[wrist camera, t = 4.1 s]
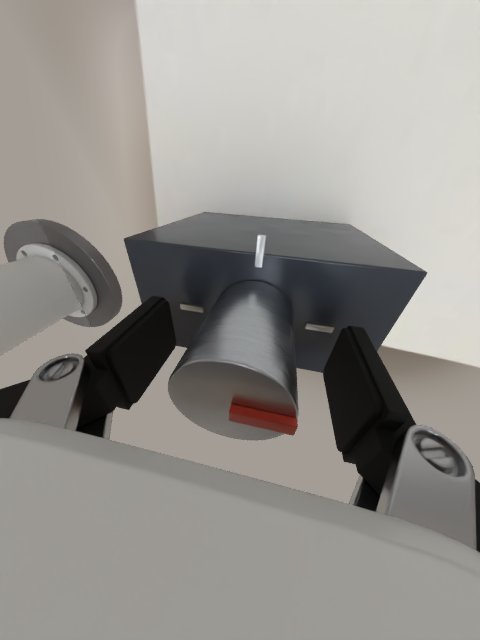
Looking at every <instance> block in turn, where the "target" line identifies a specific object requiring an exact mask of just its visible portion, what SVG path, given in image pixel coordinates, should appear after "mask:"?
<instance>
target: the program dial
mask: <svg viewBox="0 0 480 640" xmlns="http://www.w3.org/2000/svg"><path fill="white" fill-rule="evenodd" d="M296 374H297V372H296V353H295V333H294V314H293V309H292V306H291V304H290V302H289V300H288V299H287V297H286V296H285V295H284V294H283V293H282V292H281V291H279V290H278V289H277V288H275V287H273V286H271V285H269V284H267V283H264V282H259V281H243V282H238V283H235V284H233V285H231V286H229V287H228V288H226V289H225V290H224V291H223V292H222V293H221V294H220V296H219V297H218V299H217V301H216V302H215V304H214V306H213V307H212V309H211V310H210V312H209V314H208V315H207V317H206V319H205V320H204V322H203V324H202V325H201V327H200V328H199V330H198V332H197V333H196V335H195V337H194V338H193V340H192V342H191V343H190V345H189V346H188V348H187V350H186V351H185V353H184V355H183V356H182V358H181V360H180V361H179V363H178V364H177V366H176V368H175V370H174V371H173V373H172V374H171V376H170V379H169V382H168V392H169V395H170V398H171V400H172V402H173V404H174V405H175V406H176V407H177V409H178V410H179V411H180V412H181V413H182V414H183V415H185V417H187V418H188V419H189V420H191V421H192V422H194V423H195V424H197V425H199V426H200V427H202V428H204V429H207V430H209V431H211V432H214V433H216V434H219V435H222V436H226V437H230V438H235V439H241V440H266V439H271V438H275V437H278V436H281V435H283V434H289V435H294V434H295V431H296V429H297V427H298V426H297V417H298V394H297V393H298V392H297V375H296Z"/></svg>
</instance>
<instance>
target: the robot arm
mask: <svg viewBox="0 0 480 640" xmlns="http://www.w3.org/2000/svg"><path fill="white" fill-rule="evenodd" d="M96 306H97V294H96V291H95V288H94V286H93V284H92V282H91V280H90V279H89V277H88V276H87V274H86V273H85V272H84V271H83V269H82V268H81V267H80V266H79V265H78V264H77V263H76V262H75V261H74V260H72V259H71V258H70V257H69V256H67V255H66V254H65V253H63V252H61V251H59V250H58V249H56V248H54V247H51V246H49V245H46V244H41V243H33V244H28V245H25V246H23V247H21V248H20V249H19V250H18V252H17V256H16V261H13V262H10V263H7V264H3V265H0V356H1V355H3V354H4V353H6V352H8V351H9V350H11V349H13V348H14V347H16V346H18V345H19V344H21V343H23V342H24V341H26V340H28V339H29V338H31V337H33V336H34V335H36V334H37V333H39V332H41V331H43V330H44V329H46V328H48V327H49V326H51V325H53V324H55V323H56V322H58V321H60V320H61V319H63V318H65V317H66V316H68V315H69V316H73V317H84V316H87V315H89V314H90V313H92V312H93V311H94V310H95V309H96ZM175 346H176V337H175V331H174V326H173V321H172V315H171V310H170V305H169V302H168V301H166V299H165V298H164V297H158V296H151V297H150V298H149V299H148V300H146V301H145V302H144V303H143V304H141V306H139V307H138V308H137V309H135V310H134V311H133V312H132V313H131V314H129V315H128V316H127V317H126V318H124V319H123V320H122V321H121V322H120V323H118V324H117V325H116V326H115V327H113V328H112V329H111V330H110V331H109V332H107V333H106V334H105V335H104V336H102V337H101V338H100V339H99V340H98V341H96V342H95V343H94V344H93V345H91V346H90V347H89V348H88V349H87V350H86V353H87V356H86V357H84V358H83V357H82V356H81V355H79V354H65V355H62V356H58V357H56V358H53V359H51V360H49V361H48V362H46V363H44V364H43V365H42V366H40V367H39V368H38V369H37V371H36V372H35V373H34V374H33V376H32V378H31V380H28V381H25V382H21V383H19V384H15V385H12V386H9V387H6V388H3V389H0V640H480V483H479V482H478V481H477V480H475V474H474V470H473V466H472V464H471V463H470V461H469V459H468V457H467V456H466V455H465V453H464V452H463V451H462V450H461V449H460V447H459V446H457V445H456V444H455V443H454V442H453V441H452V440H451V439H449V438H448V437H447V436H445V435H444V434H442V433H441V432H439V431H437V430H435V429H433V428H431V427H427V426H423V425H416V423H415V421H414V420H413V418H412V416H411V414H410V412H409V410H408V408H407V407H406V405H405V403H404V401H403V399H402V397H401V395H400V394H399V392H398V390H397V388H396V386H395V384H394V382H393V381H392V379H391V377H390V375H389V373H388V372H387V369H386V368H385V366H384V364H383V362H382V360H381V358H380V357H379V355H378V353H377V351H376V349H375V347H374V345H373V344H372V342H371V340H370V338H369V336H368V334H367V332H366V331H365V329H364V328H362V327H356V326H347V328H343V329H342V330H341V332H340V334H339V336H338V339H337V341H336V343H335V345H334V347H333V350H332V352H331V354H330V356H329V358H328V361H327V363H326V365H325V367H324V370H323V376H324V382H325V387H326V392H327V398H328V402H329V408H330V413H331V419H332V424H333V430H334V435H335V440H336V445H337V449H338V450H339V451H340V452H342V455H343V460H344V462H349V463H352V464H356V467H357V471H358V473H359V474H360V476H359V478H358V481H357V483H356V486H355V489H354V491H353V494H352V496H351V499H350V502H349V504H346V503H343V502H339V501H336V500H333V499H329V498H325V497H322V496H318V495H314V494H311V493H307V492H303V491H300V490H296V489H292V488H288V487H284V486H281V485H277V484H274V483H270V482H266V481H263V480H259V479H255V478H251V477H248V476H244V475H240V474H236V473H233V472H229V471H225V470H222V469H218V468H214V467H210V466H207V465H203V464H199V463H195V462H192V461H188V460H184V459H180V458H177V457H173V456H169V455H165V454H161V453H158V452H154V451H150V450H146V449H142V448H139V447H135V446H131V445H127V444H123V443H119V442H116V441H112V440H109V439H110V431H111V423H112V415H113V410H114V409H115V408H116V407H119V408H123V409H127V410H129V409H130V407H131V406H132V404H133V403H136V402H138V400H139V399H140V398H141V396H142V395H143V393H144V392H145V390H146V389H147V387H148V386H149V385H150V383H151V382H152V380H153V379H154V377H155V376H156V374H157V373H158V371H159V370H160V368H161V367H162V366H163V364H164V363H165V361H166V360H167V358H168V357H169V355H170V354H171V353H172V351H173V350H174V348H175Z"/></svg>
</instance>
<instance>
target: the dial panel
mask: <svg viewBox="0 0 480 640" xmlns="http://www.w3.org/2000/svg"><path fill="white" fill-rule="evenodd" d="M124 242H125V245H126V249H127V253H128V256H129V260H130V263H131V267H132V270H133V274H134V277H135V281H136V284H137V288H138V291H139V295H140V299H141V302H142V304H143V303H144V302H145V301H146V300H148V299H149V298H150V297H151V296H158V297H164V298H165V299H166V301H168V302H169V305H170V310H171V315H172V321H173V326H174V331H175V337H176V346H181V347H186V348H188V346H189V345H190V343H191V342H192V340H193V338H194V337H195V335H196V333H197V332H198V330H199V328H200V327H201V325H202V324H203V322H204V320H205V319H206V317H207V315H208V314H209V312H210V310H211V309H212V307H213V306H214V304H215V302H216V301H217V299H218V297H219V296H220V294H221V293H222V292H223V291H224V290H225V289H226V288H228V287H229V286H231V285H233V284H235V283H238V282H243V281H259V282H264V283H267V284H269V285H271V286H273V287H275V288H277V289H278V290H279V291H281V292H282V293H283V294H284V295H285V296H286V297H287V299H288V300H289V302H290V304H291V306H292V309H293V314H294V333H295V353H296V368H300V369H306V370H311V371H316V372H322V373H323V370H324V367H325V365H326V363H327V361H328V358H329V356H330V354H331V352H332V350H333V347H334V345H335V343H336V341H337V339H338V336H339V334H340V332H341V330H342V329H343V328H347V326H356V327H362V328H364V329H365V331H366V332H367V334H368V336H369V338H370V340H371V342H372V344H373V345H374V347H375V349H376V351H377V350H378V349H379V347H380V346H381V344H382V343H383V341H384V340H385V338H386V336H387V335H388V333H389V332H390V330H391V329H392V327H393V326H394V324H395V322H396V321H397V319H398V318H399V316H400V315H401V313H402V312H403V310H404V308H405V307H406V305H407V304H408V302H409V301H410V299H411V298H412V296H413V295H414V293H415V291H416V290H417V288H418V287H419V285H420V284H421V282H422V281H423V279H424V277H425V276H426V274H427V272H426V271H424V270H423V269H421V268H419V267H418V266H416V265H415V264H413V263H411V262H410V261H408V260H406V259H405V258H403V257H402V256H400V255H398V254H397V253H395V252H394V251H392V250H390V249H389V248H387V247H386V246H384V245H382V244H381V243H379V242H378V241H376V240H374V239H373V238H371V237H369V236H368V235H366V234H365V233H363V232H361V231H360V230H358V229H357V228H355V227H353V226H352V225H349V224H338V223H326V222H314V221H303V220H291V219H279V218H268V217H256V216H245V215H233V214H221V213H210V212H204V213H201V214H198V215H194V216H191V217H188V218H185V219H182V220H179V221H176V222H173V223H170V224H167V225H164V226H161V227H158V228H155V229H152V230H149V231H146V232H143V233H140V234H137V235H133V236H130V237H127V238H125V239H124Z"/></svg>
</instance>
